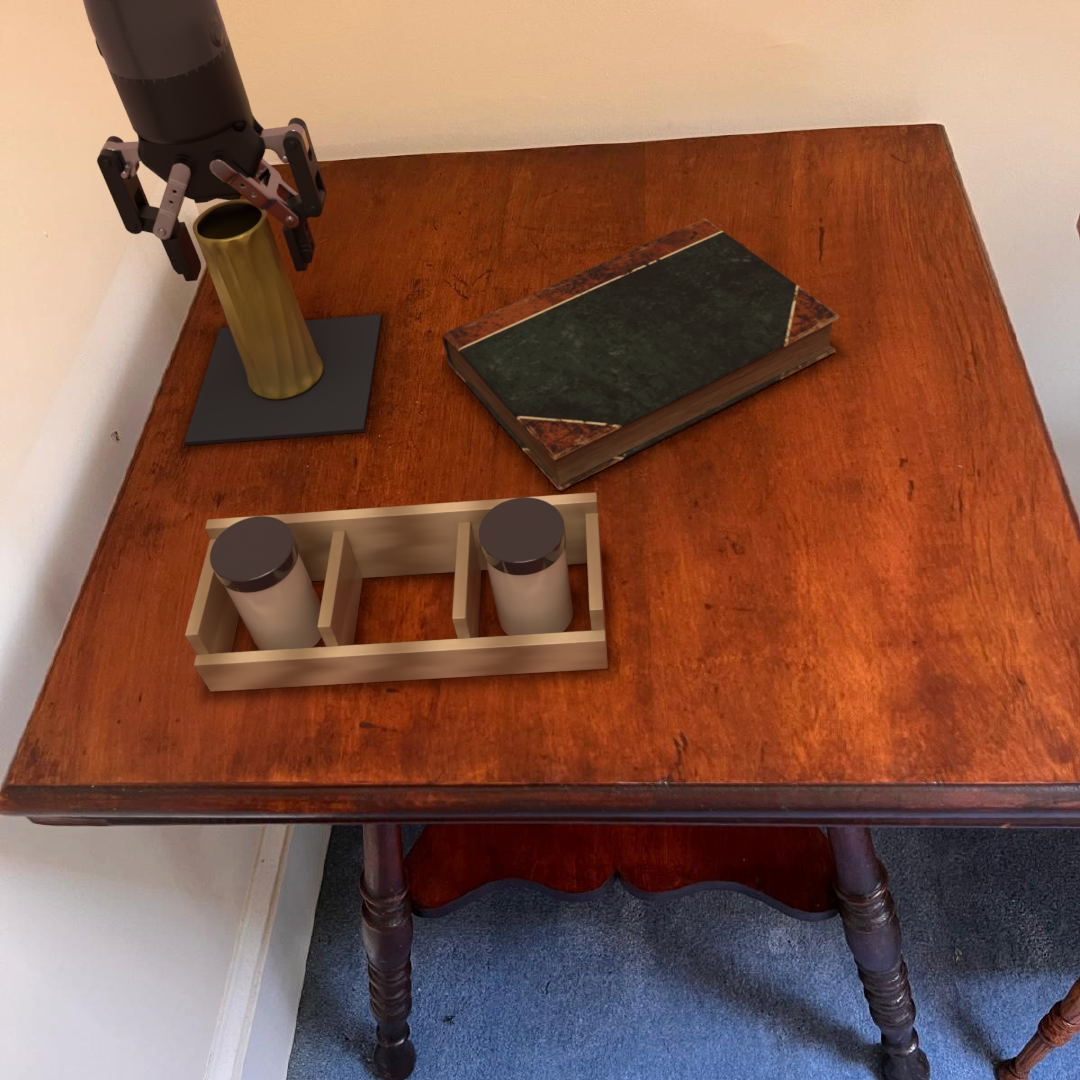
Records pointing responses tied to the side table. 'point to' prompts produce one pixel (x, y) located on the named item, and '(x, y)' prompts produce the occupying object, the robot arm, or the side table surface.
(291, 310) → the vase
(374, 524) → the rack
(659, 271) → the book
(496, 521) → the spice jar right
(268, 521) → the spice jar left
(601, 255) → the side table surface
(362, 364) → the mat
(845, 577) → the side table surface
